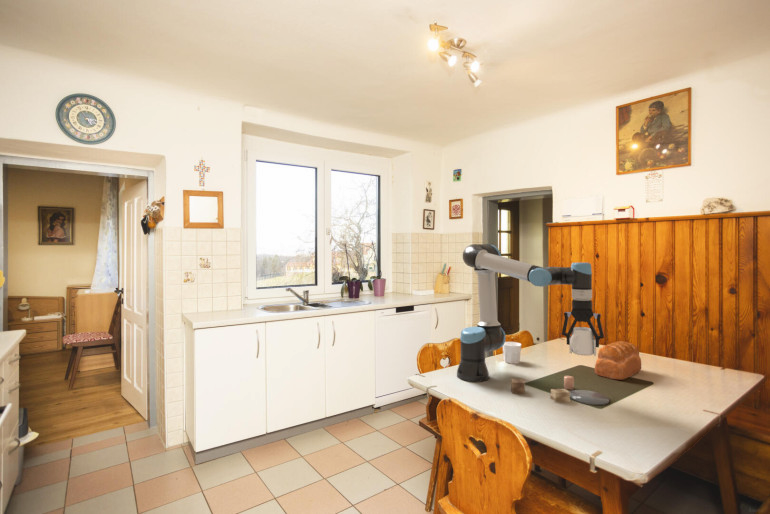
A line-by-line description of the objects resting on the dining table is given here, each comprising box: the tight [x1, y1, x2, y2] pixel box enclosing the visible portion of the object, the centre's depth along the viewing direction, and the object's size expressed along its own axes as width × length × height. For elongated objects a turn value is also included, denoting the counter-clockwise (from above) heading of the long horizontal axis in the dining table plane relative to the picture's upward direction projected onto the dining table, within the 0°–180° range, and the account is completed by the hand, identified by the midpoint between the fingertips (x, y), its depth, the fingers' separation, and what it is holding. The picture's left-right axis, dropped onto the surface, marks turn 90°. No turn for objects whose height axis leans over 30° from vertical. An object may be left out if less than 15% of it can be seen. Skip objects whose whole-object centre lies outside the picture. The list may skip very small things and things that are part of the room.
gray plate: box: [569, 389, 610, 406], centre depth 162 cm, size 15×15×1 cm
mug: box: [569, 326, 595, 356], centre depth 163 cm, size 12×8×10 cm
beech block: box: [550, 388, 571, 403], centre depth 160 cm, size 6×4×4 cm, turn 93°
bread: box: [594, 340, 642, 381], centre depth 195 cm, size 14×26×16 cm, turn 128°
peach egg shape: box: [563, 375, 575, 391], centre depth 174 cm, size 4×4×5 cm
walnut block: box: [510, 378, 526, 395], centre depth 169 cm, size 5×5×5 cm
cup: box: [502, 341, 522, 365], centre depth 215 cm, size 10×10×10 cm
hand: (582, 353), depth 162 cm, fingers closed on mug, 8 cm apart
